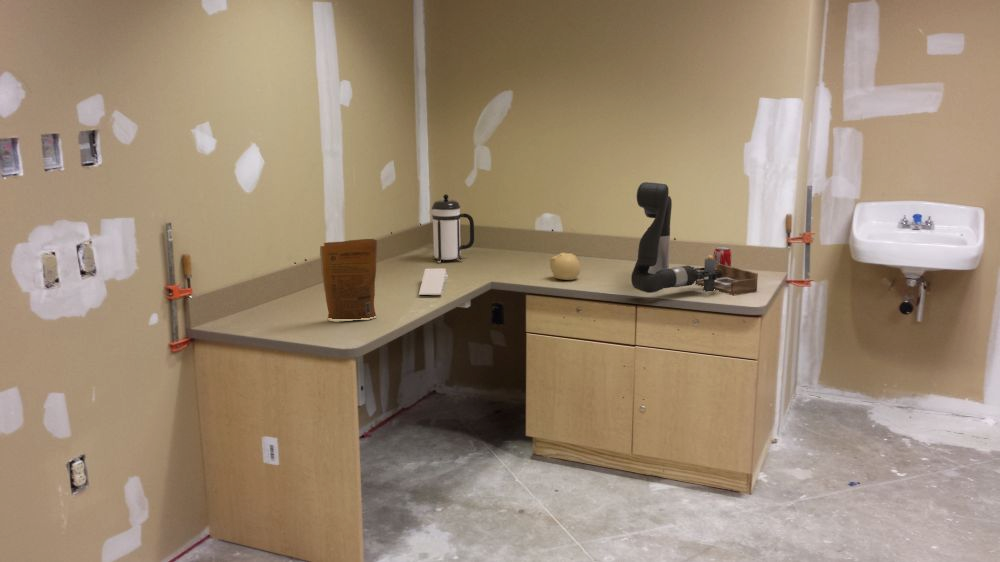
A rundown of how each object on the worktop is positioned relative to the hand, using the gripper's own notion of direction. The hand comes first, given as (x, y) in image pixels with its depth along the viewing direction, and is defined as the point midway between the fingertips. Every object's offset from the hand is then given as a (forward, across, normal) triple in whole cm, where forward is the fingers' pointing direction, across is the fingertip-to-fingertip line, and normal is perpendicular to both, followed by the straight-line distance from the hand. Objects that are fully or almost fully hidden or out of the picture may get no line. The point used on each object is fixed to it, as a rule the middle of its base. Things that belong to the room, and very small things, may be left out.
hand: (713, 271), depth 340 cm
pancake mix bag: (-135, +28, +7) cm, 138 cm away
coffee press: (-62, +104, +7) cm, 121 cm away
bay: (+6, 0, +7) cm, 9 cm away
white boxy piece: (-92, +56, +8) cm, 108 cm away
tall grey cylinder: (-2, 0, +7) cm, 7 cm away
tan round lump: (-38, +45, +7) cm, 59 cm away
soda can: (+19, +16, +7) cm, 26 cm away
